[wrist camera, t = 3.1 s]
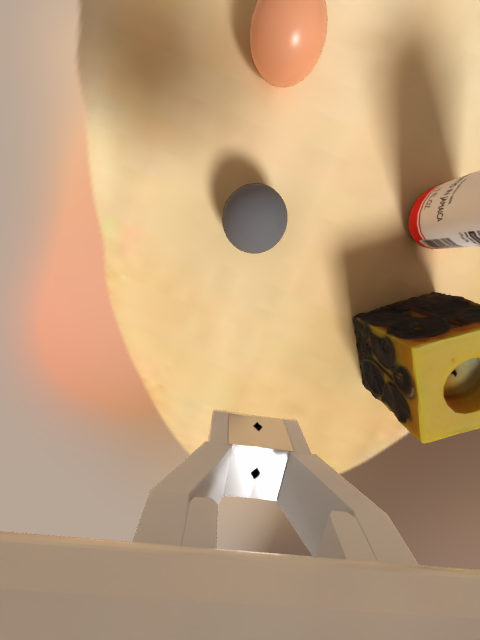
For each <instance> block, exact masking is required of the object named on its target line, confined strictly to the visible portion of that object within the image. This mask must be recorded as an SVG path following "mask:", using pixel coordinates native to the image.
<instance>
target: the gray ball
mask: <svg viewBox="0 0 480 640" xmlns="http://www.w3.org/2000/svg"><path fill="white" fill-rule="evenodd" d="M222 219H223V228H224V231H225V234H226V236H227V238H228V239H229V241H230V242H231V243H232V244H233V245H234V246H235V247H236V248H238V249H239V250H241V251H244V252H247V253H262V252H265V251H267V250H269V249H271V248H272V247H274V246H275V245H276V244H277V243H278V242H279V241H280V239H281V238H282V236H283V234H284V232H285V229H286V226H287V210H286V206H285V203H284V201H283V199H282V198H281V196H280V195H279V194H278V193H277V192H276V191H275V190H274V189H273V188H271V187H269V186H267V185H264V184H259V183H252V184H247V185H244V186H242V187H240V188H239V189H237V190H236V191H235V192H234V193H233V194H232V195H231V196H230V197H229V199H228V200H227V202H226V204H225V207H224V211H223V218H222Z"/></svg>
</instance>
